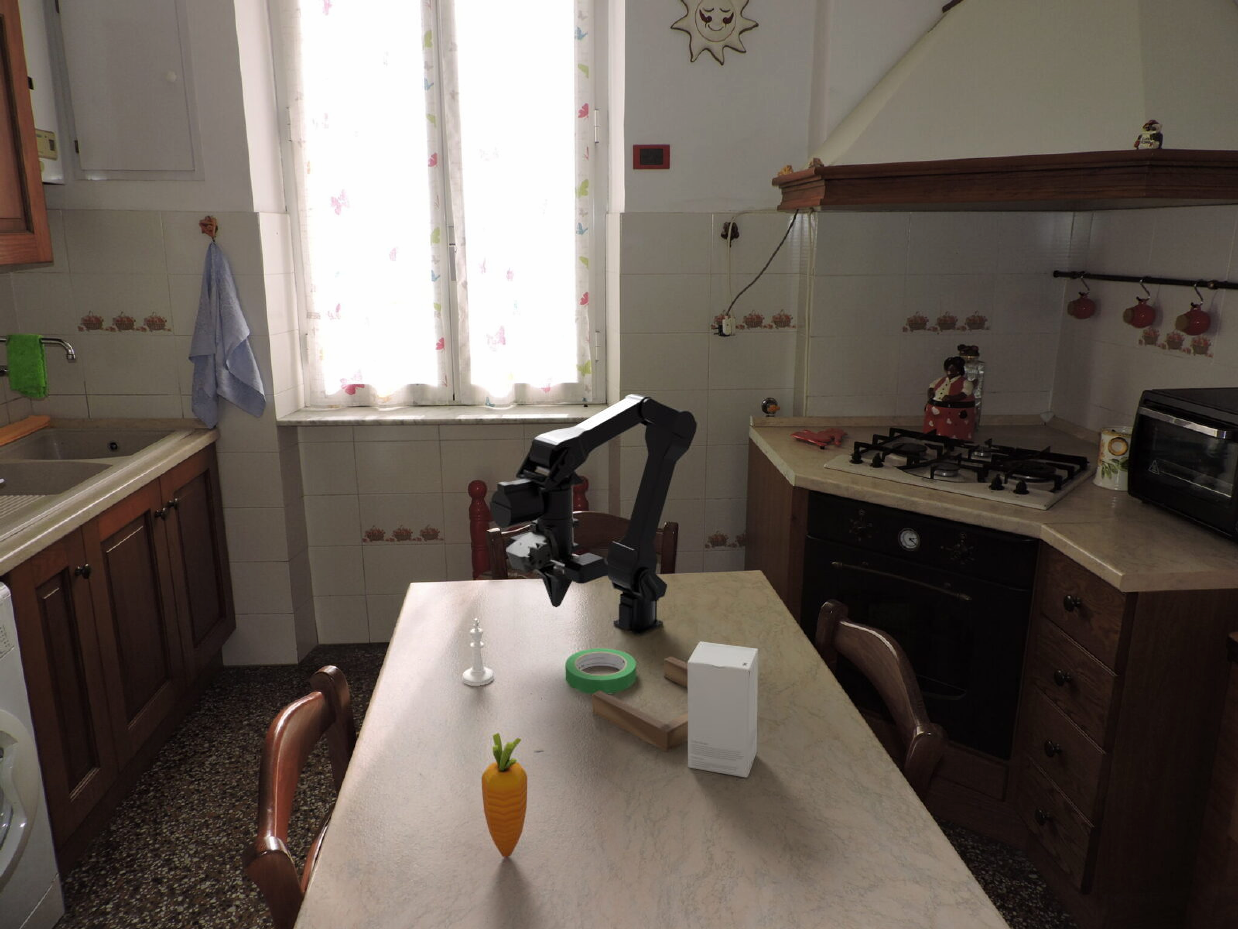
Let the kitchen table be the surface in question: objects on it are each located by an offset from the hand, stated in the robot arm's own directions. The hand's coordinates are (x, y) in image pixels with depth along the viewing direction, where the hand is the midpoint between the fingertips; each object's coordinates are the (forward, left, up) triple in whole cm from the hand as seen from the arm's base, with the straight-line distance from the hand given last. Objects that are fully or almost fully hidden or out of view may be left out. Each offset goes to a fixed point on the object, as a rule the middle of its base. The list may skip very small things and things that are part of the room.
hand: (556, 606), depth 149 cm
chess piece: (+14, -3, -9) cm, 17 cm away
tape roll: (0, +10, -9) cm, 14 cm away
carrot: (+37, +33, -9) cm, 51 cm away
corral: (0, +24, -9) cm, 25 cm away
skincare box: (+5, +38, -9) cm, 40 cm away
